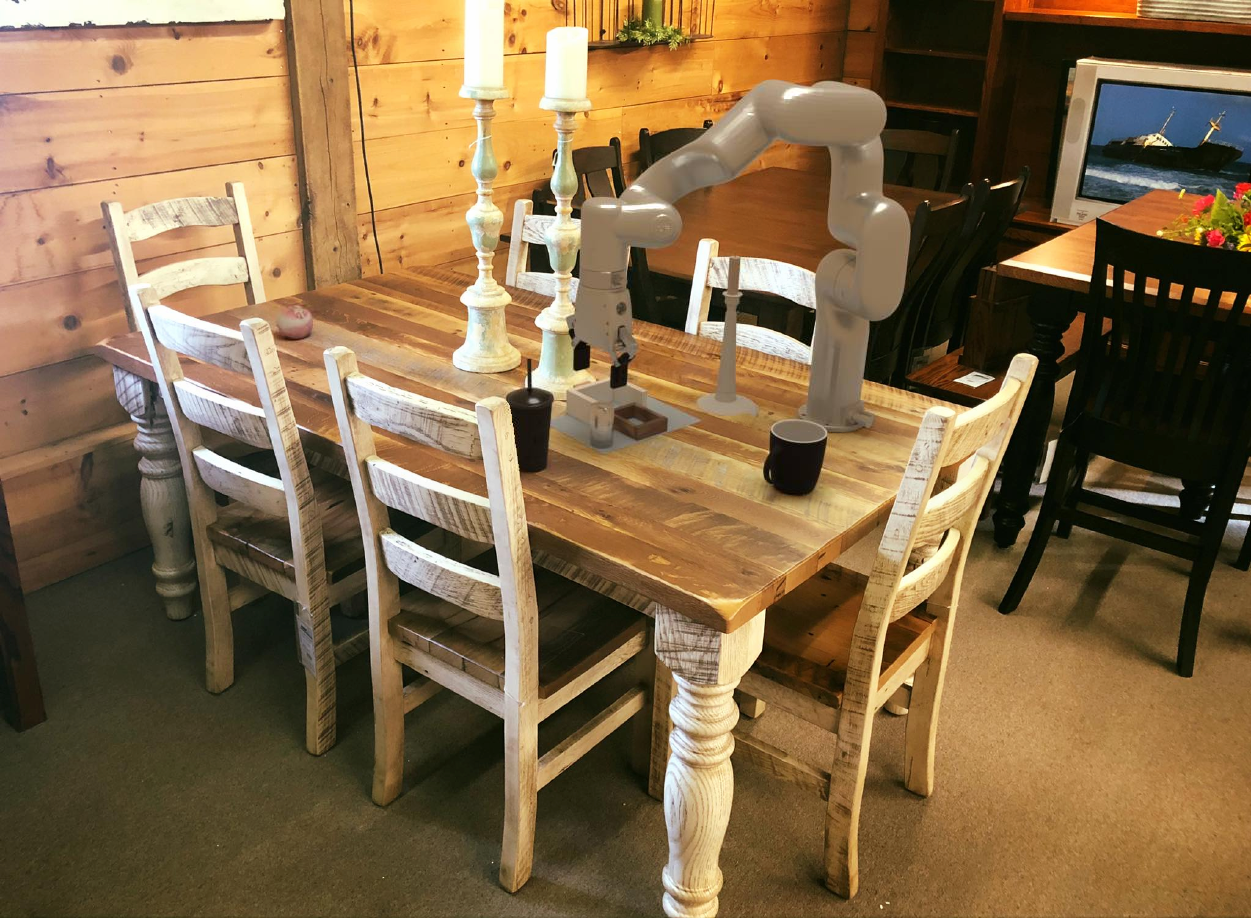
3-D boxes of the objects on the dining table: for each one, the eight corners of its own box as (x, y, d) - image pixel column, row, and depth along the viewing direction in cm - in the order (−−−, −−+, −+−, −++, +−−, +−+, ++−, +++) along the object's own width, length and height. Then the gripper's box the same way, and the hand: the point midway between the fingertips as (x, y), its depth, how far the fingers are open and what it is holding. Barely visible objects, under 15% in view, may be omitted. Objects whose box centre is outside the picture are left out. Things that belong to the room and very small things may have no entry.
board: (701, 428, 191) (701, 420, 191) (603, 462, 178) (603, 454, 177) (639, 399, 203) (639, 392, 202) (543, 429, 189) (543, 421, 188)
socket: (667, 430, 186) (667, 417, 185) (637, 441, 182) (637, 427, 181) (634, 414, 192) (634, 402, 191) (604, 424, 188) (604, 411, 187)
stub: (618, 444, 181) (618, 406, 178) (600, 450, 178) (600, 412, 175) (603, 436, 183) (603, 399, 180) (585, 442, 181) (585, 405, 178)
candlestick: (739, 394, 206) (750, 243, 193) (770, 419, 195) (785, 261, 182) (679, 402, 202) (687, 248, 189) (708, 428, 191) (718, 266, 178)
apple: (309, 345, 228) (298, 319, 223) (276, 346, 230) (265, 319, 225) (322, 323, 234) (311, 296, 229) (289, 324, 235) (278, 297, 230)
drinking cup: (498, 473, 173) (494, 358, 164) (534, 459, 178) (532, 347, 169) (528, 489, 168) (525, 371, 160) (564, 474, 173) (563, 360, 164)
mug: (789, 469, 177) (795, 414, 172) (832, 489, 171) (839, 432, 166) (741, 491, 169) (745, 433, 165) (784, 511, 163) (789, 453, 159)
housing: (646, 413, 193) (647, 390, 191) (598, 429, 186) (598, 405, 184) (604, 393, 201) (604, 371, 199) (556, 407, 194) (556, 385, 192)
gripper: (656, 287, 164) (651, 389, 172) (587, 262, 176) (584, 358, 183) (620, 294, 160) (615, 399, 167) (551, 268, 172) (550, 367, 179)
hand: (599, 377), depth 175 cm, fingers open, 9 cm apart
